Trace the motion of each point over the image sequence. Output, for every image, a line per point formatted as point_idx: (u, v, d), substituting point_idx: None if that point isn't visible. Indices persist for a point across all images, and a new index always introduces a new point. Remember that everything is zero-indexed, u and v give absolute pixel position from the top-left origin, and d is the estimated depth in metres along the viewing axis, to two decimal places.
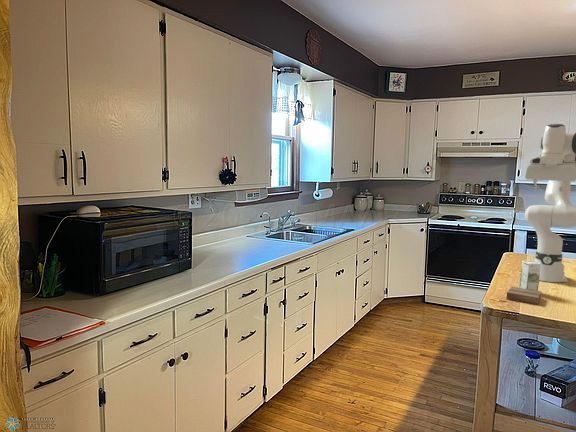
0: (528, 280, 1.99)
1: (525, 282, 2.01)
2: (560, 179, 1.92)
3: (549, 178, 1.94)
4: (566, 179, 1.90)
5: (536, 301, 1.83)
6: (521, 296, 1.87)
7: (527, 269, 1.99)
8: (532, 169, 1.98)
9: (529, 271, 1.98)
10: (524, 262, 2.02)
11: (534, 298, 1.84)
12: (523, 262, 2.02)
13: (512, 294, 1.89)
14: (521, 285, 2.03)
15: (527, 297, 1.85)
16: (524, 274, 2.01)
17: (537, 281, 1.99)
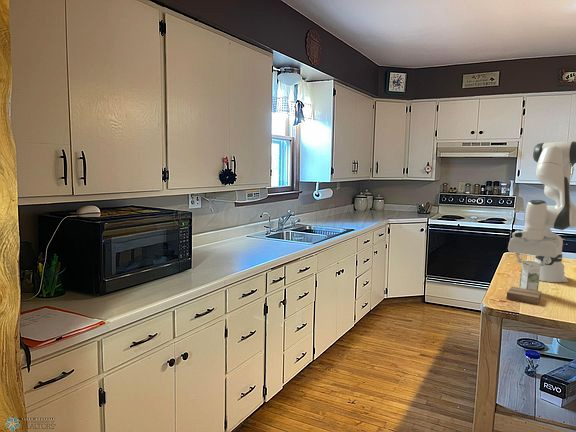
0: (528, 280, 1.99)
1: (525, 282, 2.01)
2: (541, 254, 1.96)
3: (531, 252, 1.99)
4: (547, 255, 1.95)
5: (536, 301, 1.83)
6: (521, 296, 1.87)
7: (527, 269, 1.99)
8: (515, 242, 2.03)
9: (529, 271, 1.98)
10: (524, 262, 2.02)
11: (534, 298, 1.84)
12: (523, 262, 2.02)
13: (512, 294, 1.89)
14: (521, 285, 2.03)
15: (527, 297, 1.85)
16: (524, 273, 2.01)
17: (537, 281, 1.99)
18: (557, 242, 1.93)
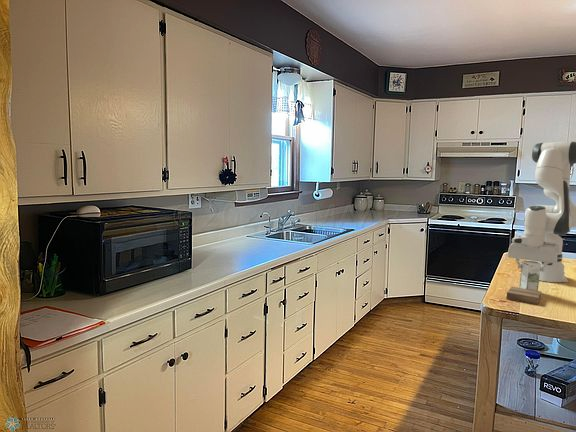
0: (528, 280, 1.99)
1: (525, 282, 2.01)
2: (541, 260, 1.97)
3: (530, 258, 1.99)
4: (547, 261, 1.95)
5: (536, 301, 1.83)
6: (521, 296, 1.87)
7: (527, 269, 1.99)
8: (514, 248, 2.03)
9: (529, 271, 1.98)
10: (524, 262, 2.02)
11: (534, 298, 1.84)
12: (523, 262, 2.02)
13: (512, 294, 1.89)
14: (521, 285, 2.03)
15: (527, 297, 1.85)
16: (524, 273, 2.01)
17: (537, 281, 1.99)
18: (557, 248, 1.94)
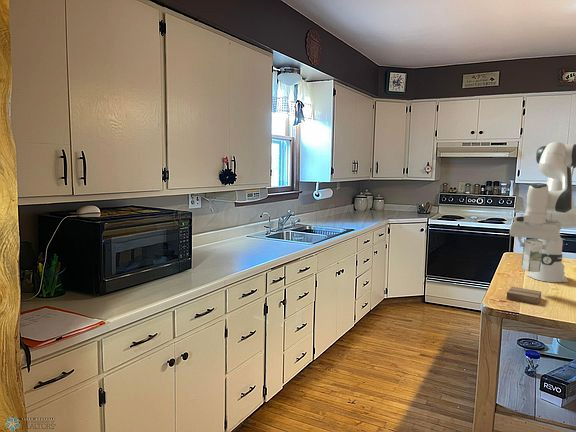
0: (530, 258, 1.98)
1: (527, 261, 2.00)
2: (543, 238, 1.96)
3: (533, 236, 1.98)
4: (549, 238, 1.94)
5: (536, 301, 1.83)
6: (521, 296, 1.87)
7: (529, 247, 1.98)
8: (516, 226, 2.02)
9: (531, 249, 1.97)
10: (526, 241, 2.01)
11: (534, 298, 1.84)
12: (525, 241, 2.01)
13: (512, 294, 1.89)
14: (523, 264, 2.02)
15: (527, 297, 1.85)
16: (526, 252, 2.00)
17: (539, 259, 1.98)
18: (559, 225, 1.93)
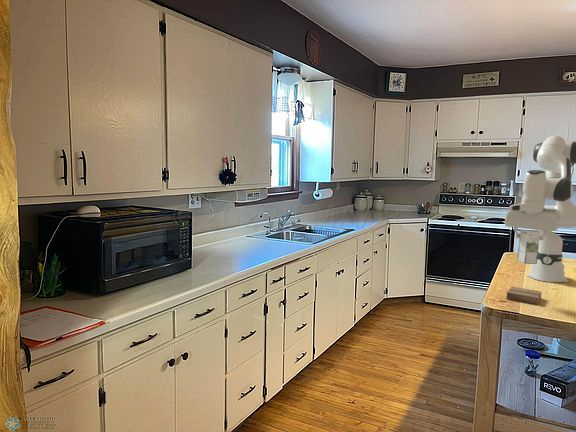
0: (527, 249, 1.86)
1: (523, 252, 1.88)
2: (540, 228, 1.84)
3: (529, 226, 1.86)
4: (547, 228, 1.82)
5: (536, 301, 1.83)
6: (521, 296, 1.87)
7: (525, 238, 1.86)
8: (512, 216, 1.90)
9: (527, 240, 1.85)
10: (522, 231, 1.89)
11: (534, 298, 1.84)
12: (521, 231, 1.89)
13: (512, 294, 1.89)
14: (519, 255, 1.90)
15: (527, 297, 1.85)
16: (522, 243, 1.88)
17: (536, 251, 1.86)
18: (557, 214, 1.81)
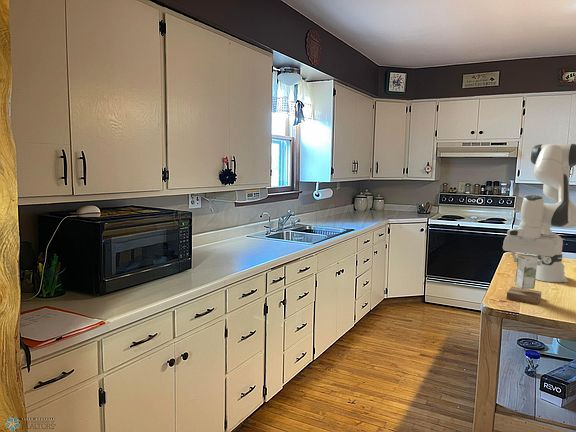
0: (524, 274, 1.87)
1: (521, 277, 1.89)
2: (538, 253, 1.85)
3: (527, 251, 1.88)
4: (544, 254, 1.84)
5: (536, 301, 1.83)
6: (521, 296, 1.87)
7: (523, 263, 1.88)
8: (510, 241, 1.91)
9: (525, 265, 1.87)
10: (520, 256, 1.90)
11: (534, 298, 1.84)
12: (519, 256, 1.91)
13: (512, 294, 1.89)
14: (517, 280, 1.92)
15: (527, 297, 1.85)
16: (520, 268, 1.90)
17: (534, 276, 1.87)
18: (555, 240, 1.82)
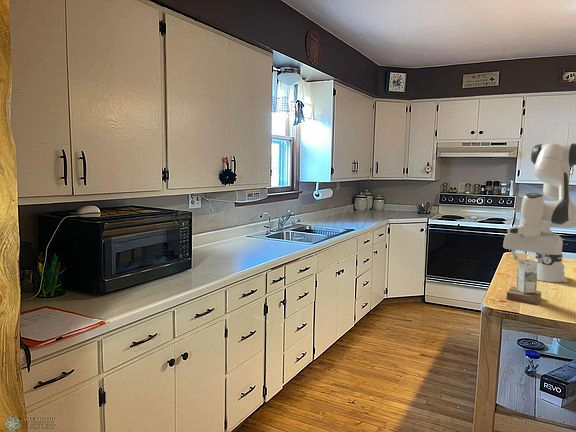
0: (525, 279, 1.87)
1: (522, 282, 1.89)
2: (538, 251, 1.85)
3: (527, 249, 1.87)
4: (544, 252, 1.84)
5: (536, 301, 1.83)
6: (521, 296, 1.87)
7: (523, 268, 1.88)
8: (510, 238, 1.91)
9: (525, 270, 1.87)
10: (520, 261, 1.90)
11: (534, 298, 1.84)
12: (519, 261, 1.91)
13: (512, 294, 1.89)
14: (518, 285, 1.91)
15: (527, 297, 1.85)
16: (520, 273, 1.90)
17: (535, 280, 1.87)
18: (555, 238, 1.82)
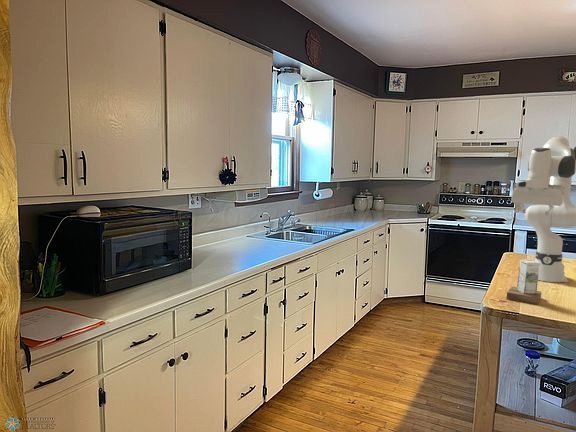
0: (526, 280, 1.87)
1: (522, 282, 1.89)
2: (546, 203, 1.91)
3: (535, 202, 1.94)
4: (552, 203, 1.90)
5: (536, 301, 1.83)
6: (521, 296, 1.87)
7: (525, 268, 1.87)
8: (518, 192, 1.97)
9: (527, 270, 1.86)
10: (522, 261, 1.90)
11: (534, 298, 1.84)
12: (521, 261, 1.90)
13: (512, 294, 1.89)
14: (519, 285, 1.91)
15: (527, 297, 1.85)
16: (522, 273, 1.89)
17: (536, 281, 1.87)
18: (562, 190, 1.88)
